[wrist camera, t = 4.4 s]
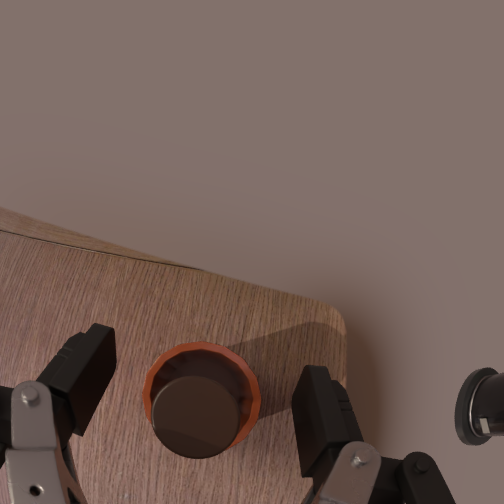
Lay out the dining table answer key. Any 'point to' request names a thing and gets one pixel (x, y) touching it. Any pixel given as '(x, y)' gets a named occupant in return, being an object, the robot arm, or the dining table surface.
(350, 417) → the robot arm
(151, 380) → the utensil cup
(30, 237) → the dining table surface
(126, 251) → the dining table surface
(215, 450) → the stirring stick
